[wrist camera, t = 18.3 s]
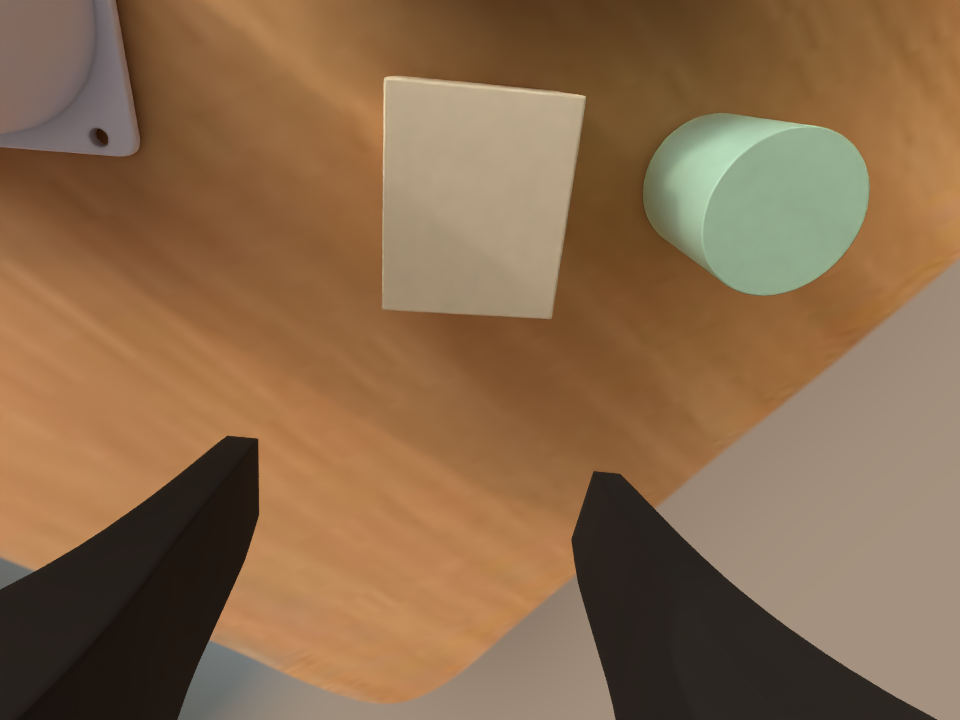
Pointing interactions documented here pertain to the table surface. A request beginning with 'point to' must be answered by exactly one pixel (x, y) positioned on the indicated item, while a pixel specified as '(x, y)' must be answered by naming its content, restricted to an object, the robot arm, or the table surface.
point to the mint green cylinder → (757, 199)
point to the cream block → (475, 195)
